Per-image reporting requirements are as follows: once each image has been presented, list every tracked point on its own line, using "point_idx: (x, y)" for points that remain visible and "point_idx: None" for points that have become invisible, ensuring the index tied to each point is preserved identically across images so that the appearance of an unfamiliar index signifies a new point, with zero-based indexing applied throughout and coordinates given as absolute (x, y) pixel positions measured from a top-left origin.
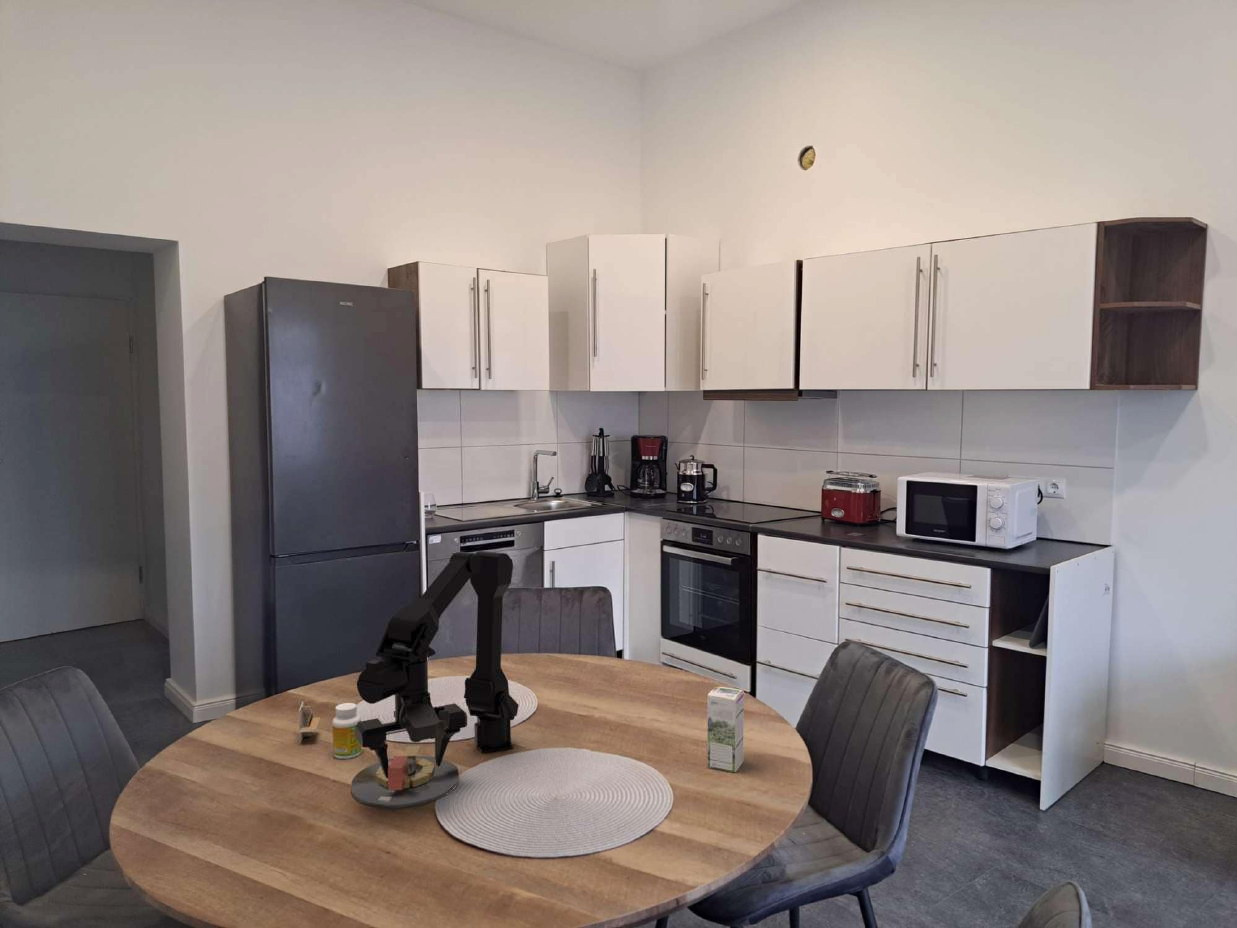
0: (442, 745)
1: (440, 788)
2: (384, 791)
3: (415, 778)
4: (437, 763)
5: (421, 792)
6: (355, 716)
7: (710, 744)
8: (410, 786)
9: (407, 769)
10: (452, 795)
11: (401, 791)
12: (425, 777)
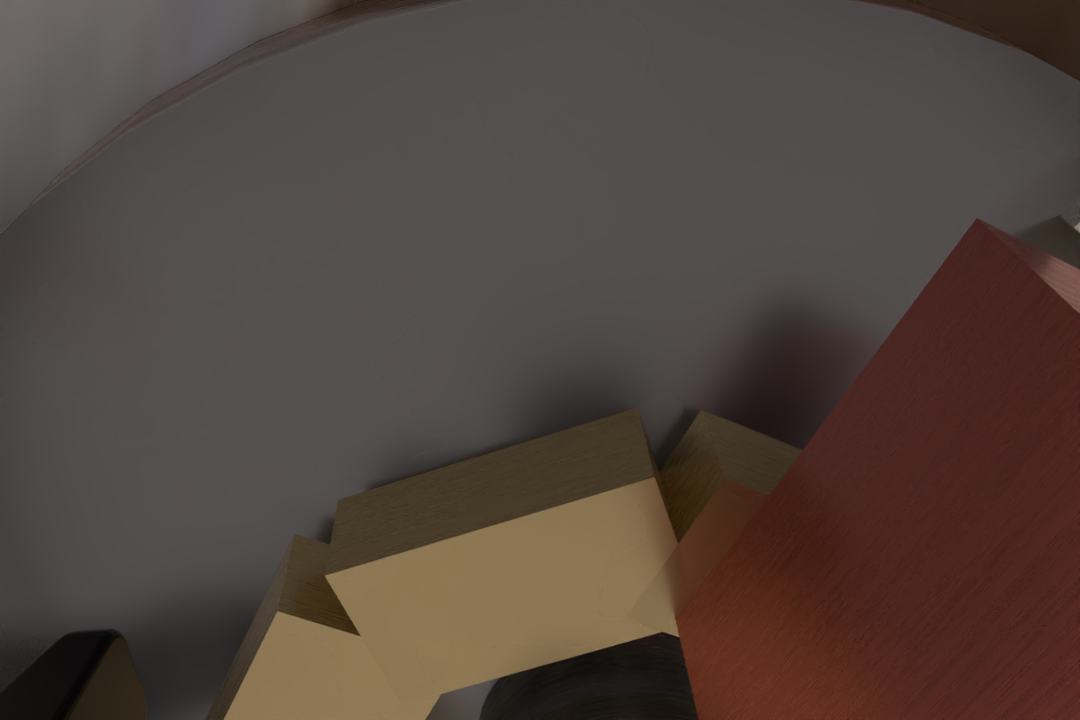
0: None
1: (195, 208)
2: None
3: (587, 534)
4: (108, 689)
5: (550, 213)
6: None
7: None
8: None
9: (744, 707)
10: (17, 55)
11: (824, 386)
12: (402, 532)
